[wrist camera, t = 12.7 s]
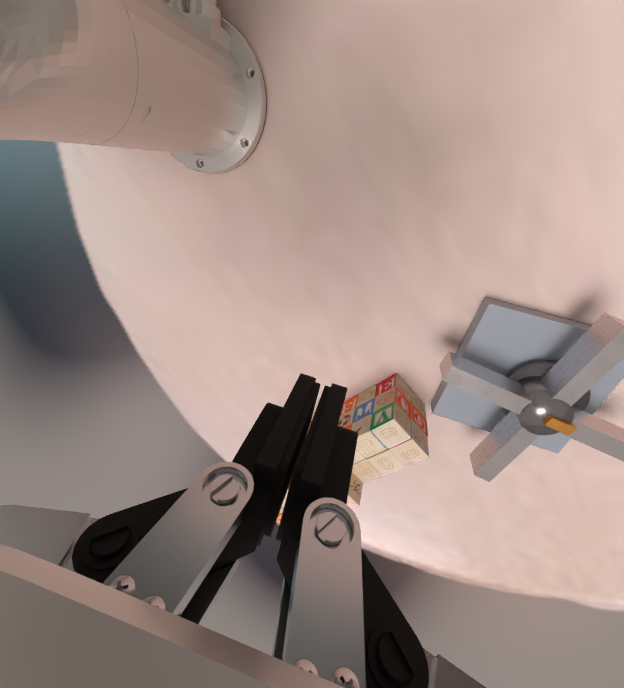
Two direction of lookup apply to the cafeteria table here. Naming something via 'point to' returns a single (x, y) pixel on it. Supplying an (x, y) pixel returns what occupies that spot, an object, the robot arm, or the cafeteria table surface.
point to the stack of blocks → (382, 433)
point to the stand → (515, 362)
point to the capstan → (544, 397)
